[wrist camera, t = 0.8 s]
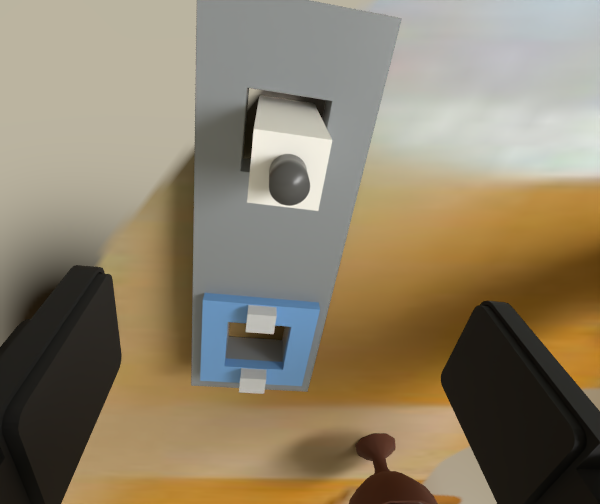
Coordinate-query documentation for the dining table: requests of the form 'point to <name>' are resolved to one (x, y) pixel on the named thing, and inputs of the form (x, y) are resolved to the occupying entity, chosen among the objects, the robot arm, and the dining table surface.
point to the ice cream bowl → (386, 477)
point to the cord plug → (288, 154)
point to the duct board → (266, 218)
